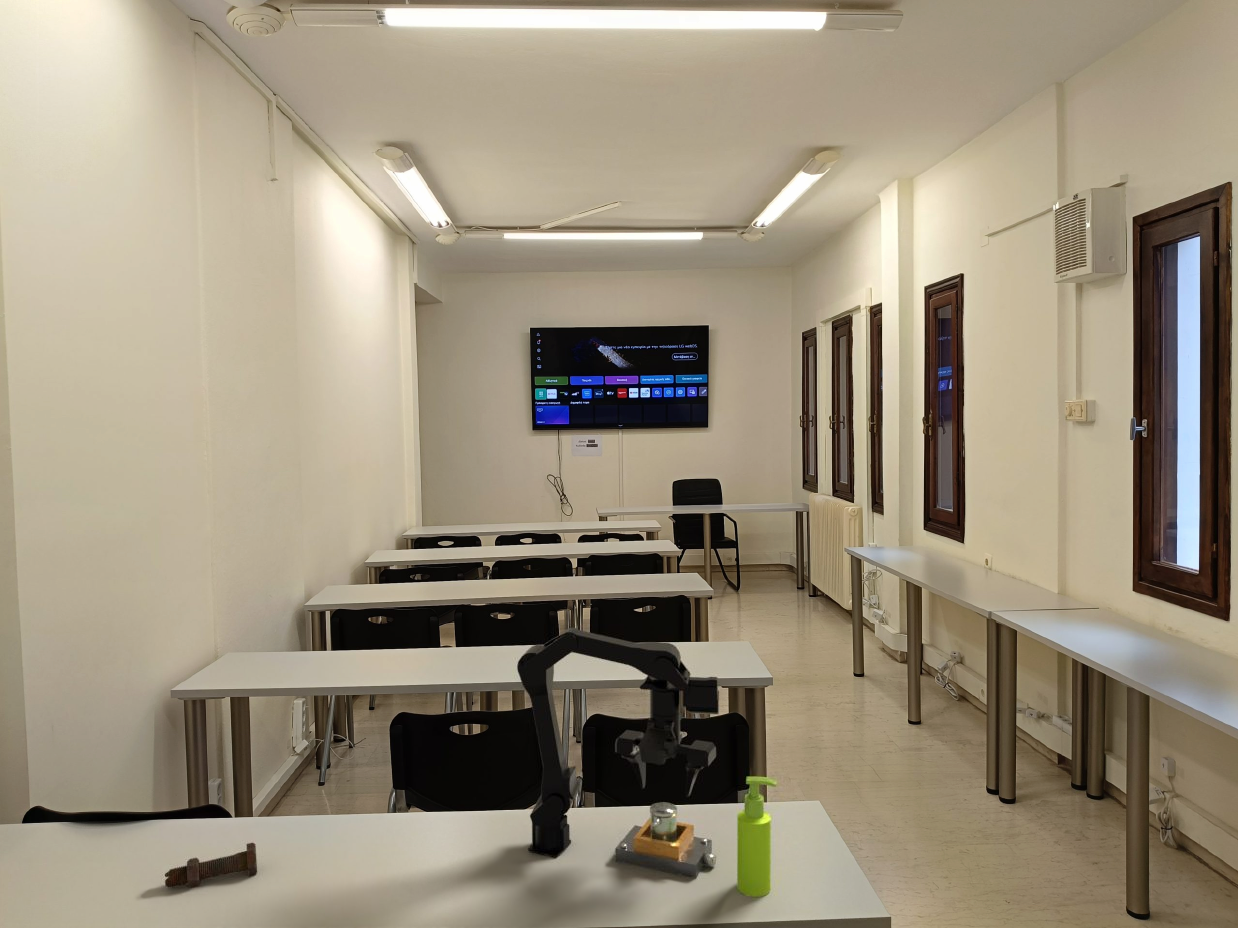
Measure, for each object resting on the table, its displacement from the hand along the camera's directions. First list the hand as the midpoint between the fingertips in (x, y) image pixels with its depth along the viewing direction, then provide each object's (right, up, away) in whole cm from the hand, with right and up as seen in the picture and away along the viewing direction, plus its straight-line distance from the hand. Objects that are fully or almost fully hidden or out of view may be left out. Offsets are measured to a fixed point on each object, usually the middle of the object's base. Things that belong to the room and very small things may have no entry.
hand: (665, 791), depth 163 cm
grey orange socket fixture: (0, -13, 0) cm, 13 cm away
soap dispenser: (+16, -13, -11) cm, 23 cm away
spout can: (-1, -10, -1) cm, 10 cm away
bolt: (-83, -14, -7) cm, 85 cm away
